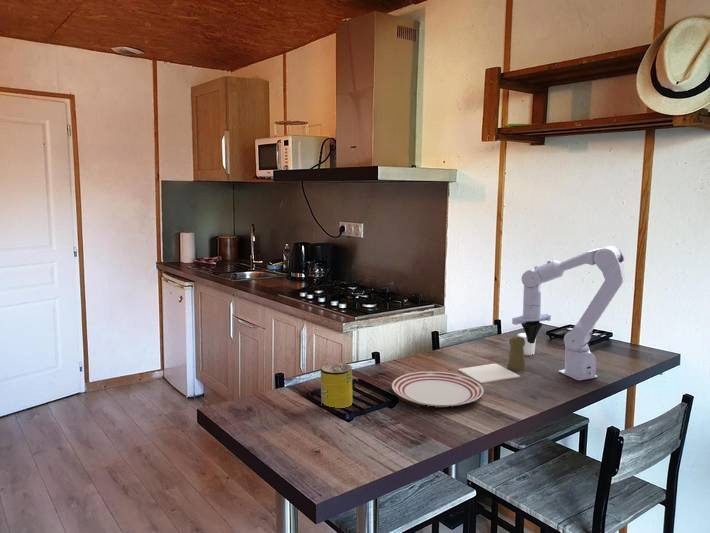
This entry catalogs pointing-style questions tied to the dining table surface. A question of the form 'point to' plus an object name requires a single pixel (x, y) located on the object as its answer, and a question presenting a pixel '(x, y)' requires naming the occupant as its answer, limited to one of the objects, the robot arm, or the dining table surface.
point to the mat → (488, 373)
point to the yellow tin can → (336, 385)
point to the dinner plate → (437, 388)
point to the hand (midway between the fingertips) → (530, 342)
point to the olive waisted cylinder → (516, 354)
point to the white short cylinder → (527, 345)
